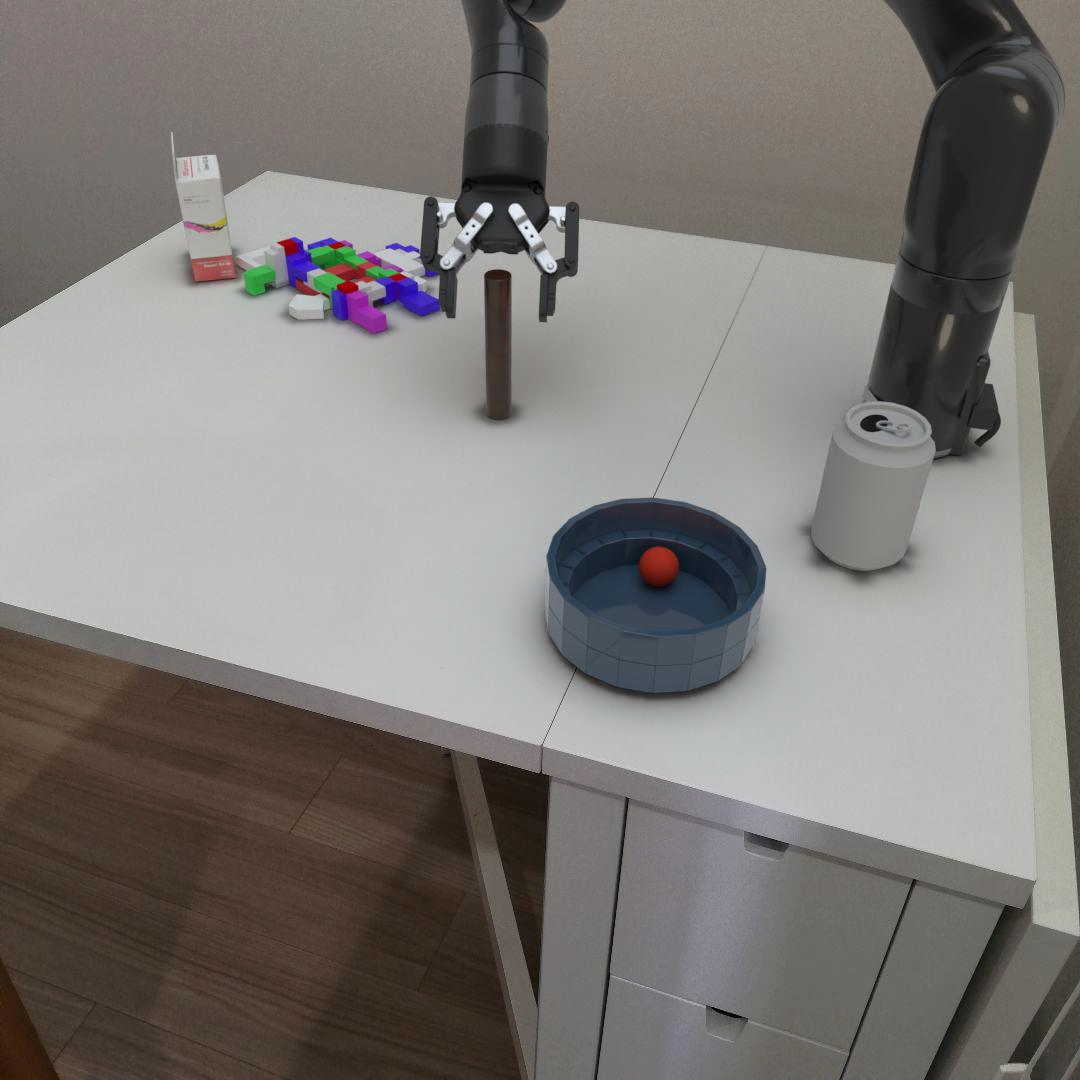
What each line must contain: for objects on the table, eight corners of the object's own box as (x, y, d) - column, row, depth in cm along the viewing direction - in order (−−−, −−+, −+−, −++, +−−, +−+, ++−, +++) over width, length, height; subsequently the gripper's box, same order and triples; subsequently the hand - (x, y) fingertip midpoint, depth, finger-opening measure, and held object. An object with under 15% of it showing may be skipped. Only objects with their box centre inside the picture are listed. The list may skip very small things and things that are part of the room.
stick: (514, 408, 101) (514, 270, 93) (508, 421, 99) (507, 281, 91) (489, 405, 102) (488, 267, 93) (483, 418, 100) (480, 278, 91)
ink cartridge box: (238, 278, 123) (217, 150, 114) (194, 283, 122) (169, 154, 113) (232, 250, 129) (211, 126, 120) (190, 254, 128) (166, 129, 119)
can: (835, 508, 89) (864, 384, 82) (919, 544, 86) (958, 417, 78) (791, 550, 85) (818, 422, 77) (878, 590, 81) (916, 460, 74)
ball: (679, 572, 81) (683, 541, 79) (674, 597, 79) (678, 566, 77) (640, 566, 82) (643, 536, 80) (634, 591, 79) (637, 560, 77)
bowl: (759, 575, 82) (771, 513, 78) (746, 718, 70) (759, 653, 67) (567, 546, 85) (570, 485, 81) (524, 679, 73) (525, 615, 69)
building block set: (487, 291, 121) (486, 254, 119) (338, 347, 110) (334, 308, 107) (358, 227, 135) (355, 193, 133) (215, 272, 124) (208, 235, 121)
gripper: (421, 117, 91) (409, 300, 89) (586, 122, 91) (578, 306, 89) (431, 159, 99) (421, 328, 97) (584, 164, 98) (577, 334, 96)
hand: (496, 317), depth 93 cm, fingers open, 7 cm apart
